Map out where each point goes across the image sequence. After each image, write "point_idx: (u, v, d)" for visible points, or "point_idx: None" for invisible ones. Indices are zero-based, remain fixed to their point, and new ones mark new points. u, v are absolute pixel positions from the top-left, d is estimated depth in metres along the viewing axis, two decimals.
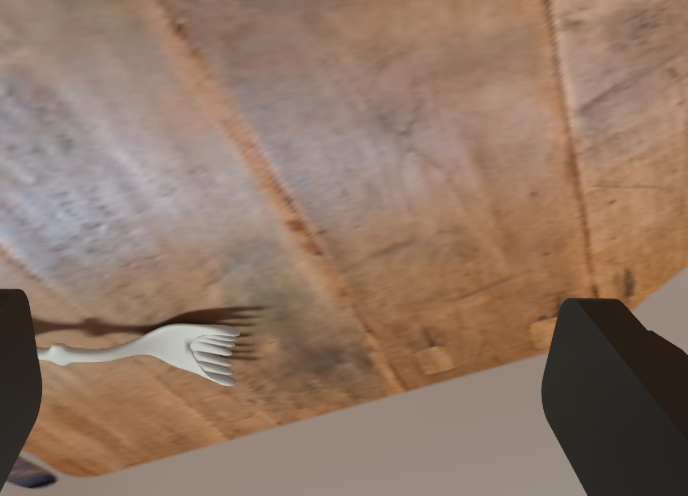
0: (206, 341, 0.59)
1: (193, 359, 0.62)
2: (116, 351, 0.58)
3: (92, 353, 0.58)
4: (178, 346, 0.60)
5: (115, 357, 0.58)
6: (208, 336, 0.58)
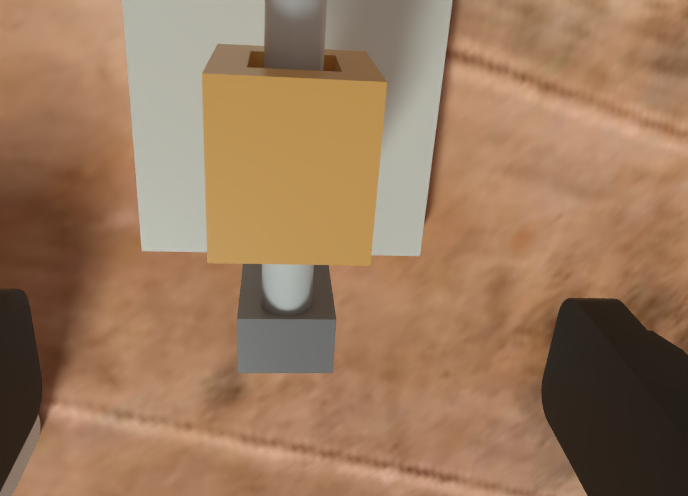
0: None
1: None
2: None
3: None
4: None
5: None
6: None
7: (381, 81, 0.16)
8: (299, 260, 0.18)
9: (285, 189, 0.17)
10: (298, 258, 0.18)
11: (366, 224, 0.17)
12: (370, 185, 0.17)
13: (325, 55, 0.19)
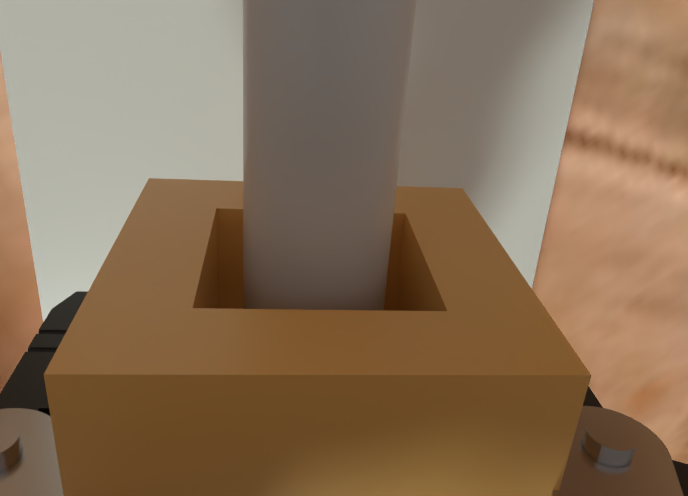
0: None
1: None
2: None
3: None
4: None
5: None
6: None
7: (573, 371, 0.06)
8: None
9: None
10: None
11: None
12: None
13: None
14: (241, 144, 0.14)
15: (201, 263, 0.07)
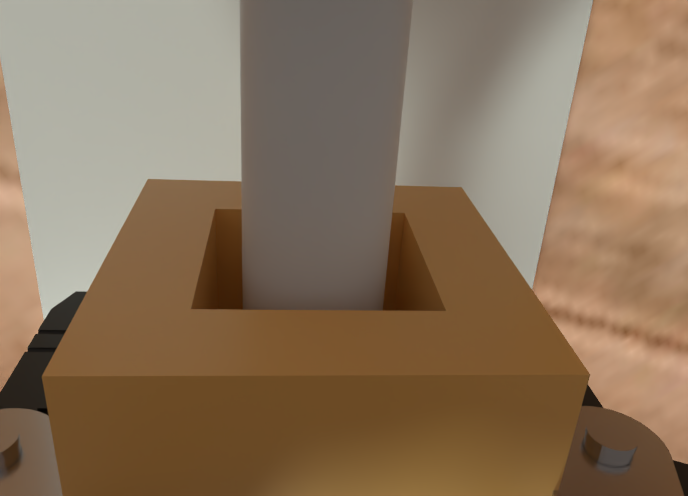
0: None
1: None
2: None
3: None
4: None
5: None
6: None
7: (571, 370, 0.06)
8: None
9: None
10: None
11: None
12: None
13: None
14: None
15: (200, 264, 0.07)
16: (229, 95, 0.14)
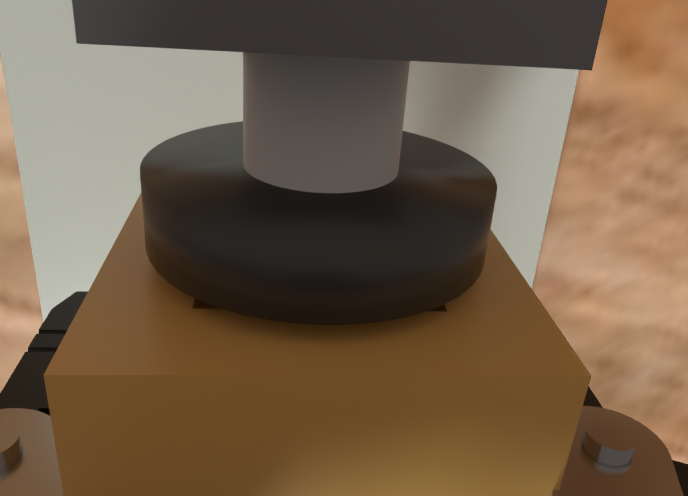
0: None
1: None
2: None
3: None
4: None
5: None
6: None
7: (573, 371, 0.06)
8: None
9: None
10: None
11: None
12: None
13: None
14: None
15: None
16: None
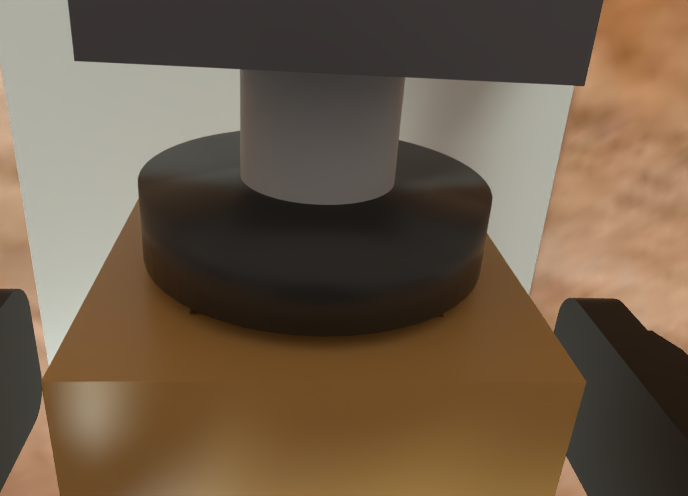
0: None
1: None
2: None
3: None
4: None
5: None
6: None
7: (568, 377, 0.06)
8: None
9: None
10: None
11: None
12: None
13: None
14: None
15: None
16: None
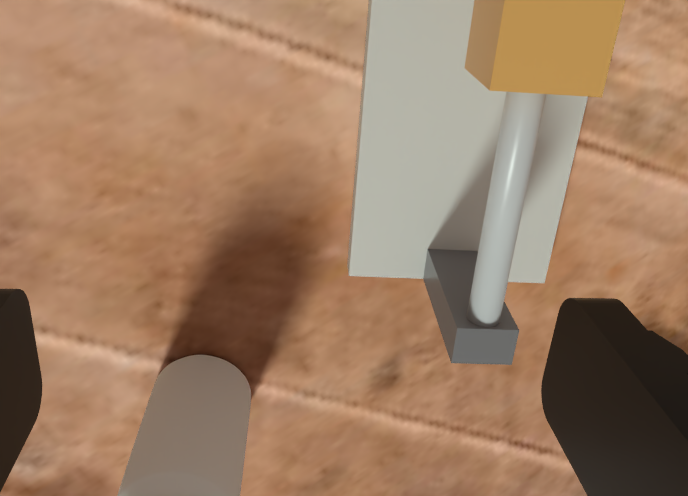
0: None
1: None
2: None
3: None
4: None
5: None
6: None
7: None
8: (553, 91, 0.25)
9: (553, 35, 0.24)
10: (552, 88, 0.25)
11: (604, 64, 0.25)
12: (612, 33, 0.24)
13: None
14: (446, 144, 0.36)
15: None
16: (459, 26, 0.33)
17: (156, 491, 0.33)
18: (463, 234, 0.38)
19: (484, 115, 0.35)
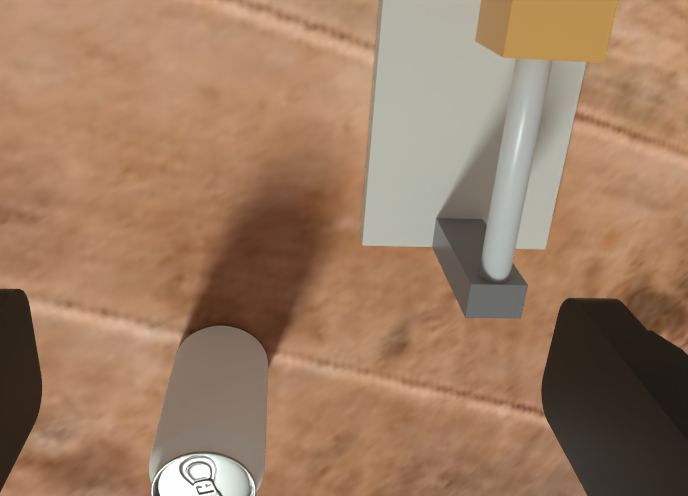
0: None
1: None
2: None
3: None
4: None
5: None
6: None
7: None
8: (560, 57, 0.27)
9: (560, 5, 0.26)
10: (560, 55, 0.27)
11: (606, 32, 0.27)
12: (613, 4, 0.27)
13: None
14: (453, 117, 0.38)
15: None
16: (465, 5, 0.35)
17: (190, 445, 0.35)
18: (469, 203, 0.41)
19: (489, 90, 0.38)
